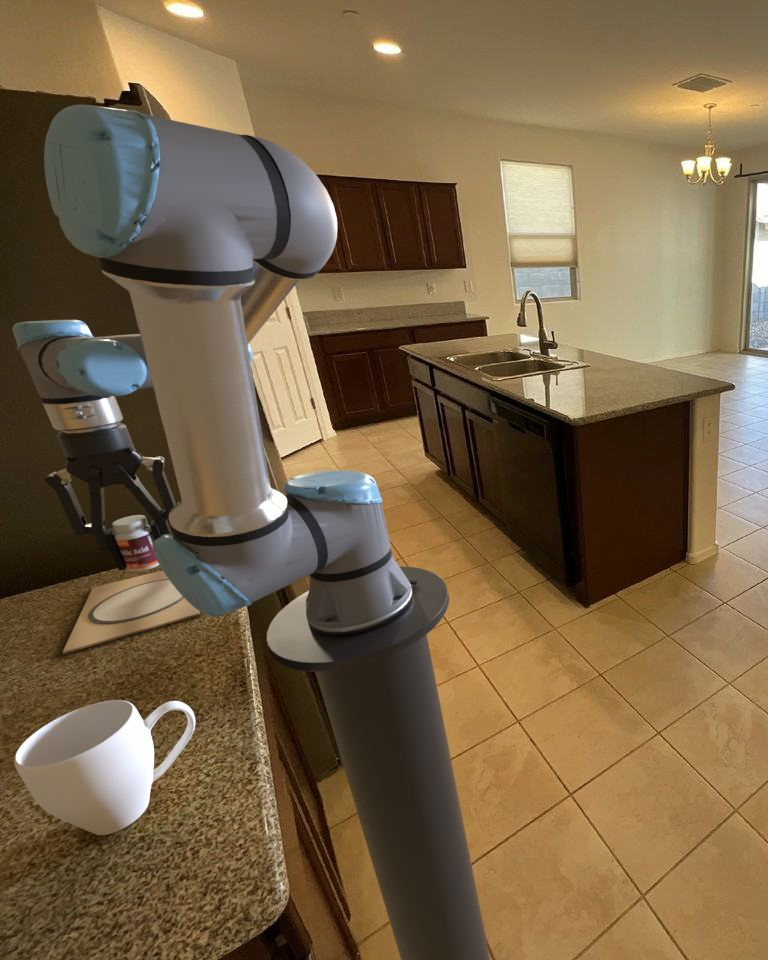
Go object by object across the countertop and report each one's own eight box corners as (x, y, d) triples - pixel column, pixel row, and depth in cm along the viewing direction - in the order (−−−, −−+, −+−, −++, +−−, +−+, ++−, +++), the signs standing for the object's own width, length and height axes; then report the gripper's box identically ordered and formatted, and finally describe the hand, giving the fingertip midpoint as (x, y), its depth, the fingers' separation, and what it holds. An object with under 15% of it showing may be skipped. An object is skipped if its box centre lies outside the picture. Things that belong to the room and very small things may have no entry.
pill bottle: (122, 575, 84) (102, 528, 81) (134, 561, 88) (116, 516, 85) (159, 568, 86) (141, 523, 83) (169, 555, 90) (153, 511, 87)
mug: (67, 875, 48) (12, 787, 44) (60, 819, 53) (11, 735, 49) (224, 786, 57) (190, 704, 52) (206, 744, 62) (174, 667, 58)
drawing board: (205, 561, 103) (204, 559, 102) (199, 615, 86) (198, 612, 86) (93, 589, 94) (92, 586, 94) (63, 654, 77) (61, 651, 77)
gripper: (-6, 443, 71) (64, 589, 79) (165, 422, 81) (211, 554, 89) (12, 431, 77) (76, 569, 85) (170, 413, 86) (213, 538, 95)
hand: (145, 561), depth 87 cm, fingers closed on pill bottle, 5 cm apart
